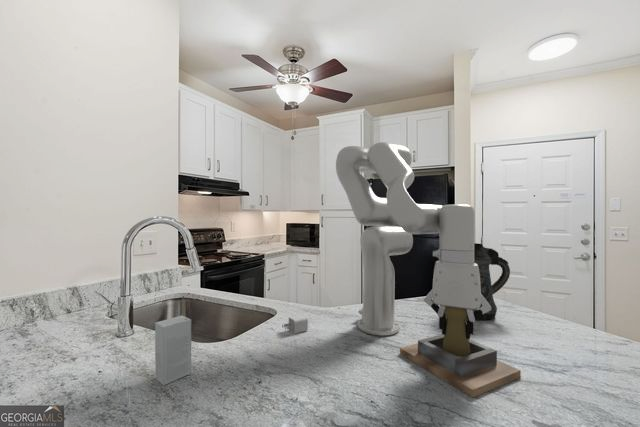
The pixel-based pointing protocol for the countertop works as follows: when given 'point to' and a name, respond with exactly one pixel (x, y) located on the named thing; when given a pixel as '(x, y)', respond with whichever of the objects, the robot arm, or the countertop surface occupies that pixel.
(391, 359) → the countertop surface
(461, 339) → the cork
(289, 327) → the usb wall charger
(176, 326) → the skincare box
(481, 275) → the beer stein
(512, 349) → the countertop surface
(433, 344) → the shaker holder
